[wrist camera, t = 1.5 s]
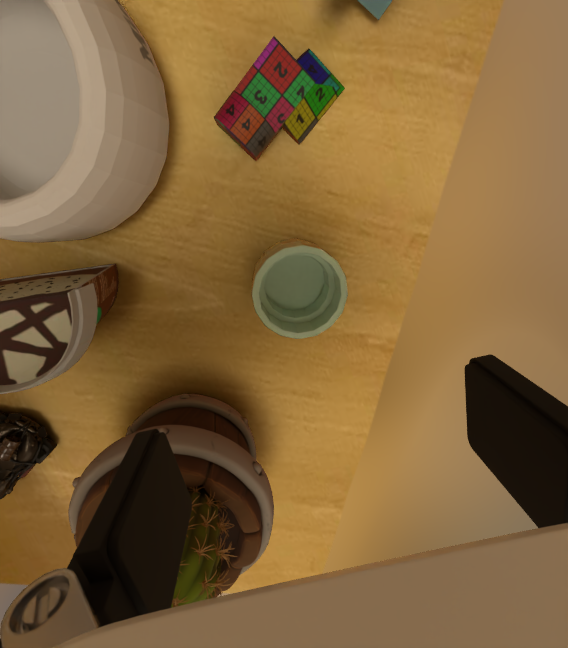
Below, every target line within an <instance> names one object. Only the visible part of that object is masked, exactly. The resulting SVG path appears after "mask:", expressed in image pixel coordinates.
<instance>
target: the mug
mask: <svg viewBox="0 0 568 648" xmlns="http://www.w3.org/2000/svg"><path fill="white" fill-rule="evenodd" d="M168 136H169V118H168V111H167V104H166V97H165V90H164V84H163V81H162V78H161V76H160V73H159V71H158V68H157V65H156V63H155V60H154V58H153V55H152V53H151V50H150V48H149V45H148V43H147V42H146V40H145V39H144V37H143V36H142V34H141V33H140V31H139V30H138V28H137V27H136V25H135V24H134V22H133V21H132V19H131V18H130V16H129V15H128V13H127V11H126V10H125V8H124V7H123V6H122V5H121V4H120V3H119V1H118V0H0V238H2V239H7V240H13V241H21V242H39V243H40V242H55V241H70V240H80V239H87V238H90V237H92V236H95V235H98V234H100V233H103V232H106V231H109V230H111V229H114V228H115V227H116V226H118V225H119V224H120V223H122V222H123V221H125V220H126V219H127V218H129V217H130V216H131V215H133V214H134V213H135V212H137V211H138V209H139V208H140V207H141V205H142V204H143V203H144V201H145V200H146V198H147V197H148V196H149V194H150V193H151V192H152V190H153V189H154V188H155V186H156V185H157V182H158V179H159V177H160V174H161V171H162V168H163V166H164V163H165V160H166V157H167V147H168Z"/></svg>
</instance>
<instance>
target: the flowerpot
mask: <svg viewBox="0 0 568 648" xmlns="http://www.w3.org/2000/svg"><path fill="white" fill-rule="evenodd" d="M152 429H158V431H159V432H164V433H165V434H166V436H167V439H168V441H169V444H170V446H171V449H172V451H173V454H174V456H175V459H176V461H177V464H178V466H179V469H180V471H181V474H182V476H183V479H184V482H185V484H186V487H187V489H188V492H189V494H190V497H191V501H192V512H191V516H190V521H189V526H188V530H187V535H186V540H185V544H184V549H183V554H182V558H181V563H180V568H179V572H178V577H177V582H176V586H175V591H174V596H173V600H172V605H171V608H173V607H177V606H181V605H185V604H190V603H194V602H198V601H202V600H206V599H211V598H215V597H217V596H218V595H219V594H220V595H221V591H225V590H227V589H229V588H230V587H231V586H232V585H233V584H234V582H235V581H236V580H237V578H238V577H239V575H241V574H242V573H243V572H245V571H246V570H247V569H249V568H250V567H251V566H252V565H253V564H254V563H255V562H256V561H257V560H258V559H259V558H260V557H261V555H262V554H263V552H264V551H265V549H266V547H267V545H268V542H269V539H270V535H271V530H272V525H273V515H274V504H273V496H272V491H271V487H270V484H269V480H268V478H267V475H266V473H265V471H264V470H263V468H262V467H261V465H260V464H259V463H258V462H257V461H256V447H255V442H254V439H253V435H252V433H251V430H250V428H249V426H248V420H247V419H246V418H243V417H242V416H241V415H240V413H239V412H238V411H236V410H235V409H234V408H232V407H231V406H229V405H228V404H226V403H224V402H222V401H220V400H217V399H215V398H212V397H208V396H204V395H198V394H182V395H177V396H173V397H170V398H167V399H165V400H162V401H160V402H158V403H157V404H155V405H153V406H152V407H150V408H149V409H148V410H147V411H145V412H144V413H143V414H142V415H141V416H140V417H139V418H137V419H136V420H135V421H134V423H133V424H132V425H131V426H129V427H128V432H127V434H126V436H125V437H123V438H121V439H120V440H118V441H116V442H114V443H113V444H112V445H110V446H109V447H107V448H106V449H105V450H104V451H102V452H101V453H100V454H99V455H98V456H97V457H96V458H95V459H94V460H93V461H92V462H91V463H90V464H89V465H88V467H87V468H86V469H85V471H84V472H83V474H82V475H81V477H78V478H76V479H74V481H73V486H74V487H75V489H74V492H73V495H72V498H71V501H70V505H69V521H70V526H71V530H72V533H74V534H75V535H74V539H75V541H76V546H77V547H78V545H79V543H80V541H81V539H82V537H83V535H84V533H85V532H86V530H87V528H88V526H89V524H90V522H91V520H92V518H93V516H94V514H95V512H96V510H97V508H98V506H99V504H100V502H101V501H102V499H103V497H104V495H105V493H106V491H107V489H108V487H109V485H110V483H111V481H112V479H113V477H114V475H115V473H116V471H117V469H118V468H119V466H120V464H121V462H122V460H123V458H124V456H125V454H126V452H127V450H128V448H129V446H130V444H131V442H132V440H133V438H134V437H135V435H136V434H137V433H138V432H143V431H147V430H152ZM222 593H223V592H222Z"/></svg>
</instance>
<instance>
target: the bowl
mask: <svg viewBox="0 0 568 648" xmlns="http://www.w3.org/2000/svg"><path fill="white" fill-rule="evenodd" d="M347 296H348V292H347V282H346V276H345V274H344V272H343V271H342V269H341V267H340V265H339V264H338V262H337V261H336V260H335V259H334V258H333V257H332V256H330V255H329V254H328V253H327V252H325V251H324V250H323V249H321V248H320V247H319V246H317V245H316V244H315V243H313V242H310V241H306V240H302V239H298V238H295V239H289V240H283V241H280V242H277V243H276V244H274V245H273V246H271V247H270V248H268V249H266V250H265V251H264V253H263V254H262V256H261V257H260V258H259V260H258V261H257V263H256V265H255V269H254V273H253V278H252V298H253V303H254V308H255V311H256V313H257V315H258V316H259V317H260V319H261V320H262V322H263V323H264V325H265V326H266V327H268V328H269V329H271V330H272V331H274V332H275V333H277V334H279V335H281V336H285V337H290V338H295V339H301V338H307V337H312V336H315V335H318V334H320V333H321V332H323V331H325V330H326V329H328V328H330V327H331V326H332V325H333V324H334V322H335V321H336V320H337V319H338V317H339V316H340V315H341V314H342V312H343V309H344V306H345V302H346V299H347Z"/></svg>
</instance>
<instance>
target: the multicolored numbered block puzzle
mask: <svg viewBox="0 0 568 648" xmlns="http://www.w3.org/2000/svg"><path fill="white" fill-rule="evenodd" d="M344 89H345V88H344V87H343V86H342V84H341V83H340V82H339V81H338V80H337V79H336V78H335V77H334V76H333V74H332V73H331V72H330V71H329V70H328V69H327V68H326V67H325V66H324V64H323V63H322V62H321V61H320V60H319V59H318V58H317V57H316V55H315V54H314V53H313V52H312V51H311V50H310V49H308V50H307V51H306V52H304V53H303V54H302V55H301V56H300V57H299V58H298V59H297V60H296V59H295V58H294V57H293V56H292V55H291V54H290V53H289V52H288V51H287V50H286V49H285V47H284V46H283V45H282V44H281V43H280V42H279V41H278V40H277V39H276V38H275V37H273V38H272V39H271V41H270V42H269V43H268V45H267V46H266V48H265V49H264V50H263V52H262V53H261V54H260V56H259V57H258V58H257V60H256V61H255V62H254V64H253V65H252V67H251V68H250V69H249V71H248V72H247V73H246V75H245V76H244V77H243V79H242V80H241V82H240V83H239V84H238V86H237V87H236V88H235V90H234V91H233V92H232V93H231V95H230V96H229V97H228V99H227V100H226V101H225V103H224V104H223V106H222V107H221V108H220V110H219V111H218V112H217V114H216V115H215V116H214V119H215V121H216V123H217V125H218V126H219V127H220V128H221V129H222V130H223V131H225V132H226V133H227V134H228V135H229V136H230V137H231V138H232V139H233V140H234V141H235V142H236V143H237V144H238V145H239V146H240V147H241V148H243V149H244V150H245V151H246V152H247V153H248V154H249V155H250V156H251V157H252V158H253V159H254V160H255V161H256V160H257V159H258V158H259V157H260V155H261V154H262V153H263V152H264V150H265V149H266V148H267V147H268V145H269V144H270V143H271V141H272V140H273V139H274V138H275V136H276V135H277V134H278V133H279V131H280V130H281V129H282V128H283V129H284V130H285V131H286V132H287V133H288V134H289V135H290V136H291V137H292V138H293V139H294V140H295V141H296V142H297V143H298V144H300V143H301V142H302V141H303V140H304V138H305V137H306V136H307V135H308V133H309V132H310V131H311V130H312V128H313V127H314V126H315V125H316V123H317V122H318V121H319V120H320V118H321V117H322V116H323V115H324V114H325V112H326V111H327V110H328V109H329V107H330V106H331V105H332V104H333V102H334V101H335V100H336V99H337V97H338V96H339V95H340V94H341V92H342V91H343V90H344Z"/></svg>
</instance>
